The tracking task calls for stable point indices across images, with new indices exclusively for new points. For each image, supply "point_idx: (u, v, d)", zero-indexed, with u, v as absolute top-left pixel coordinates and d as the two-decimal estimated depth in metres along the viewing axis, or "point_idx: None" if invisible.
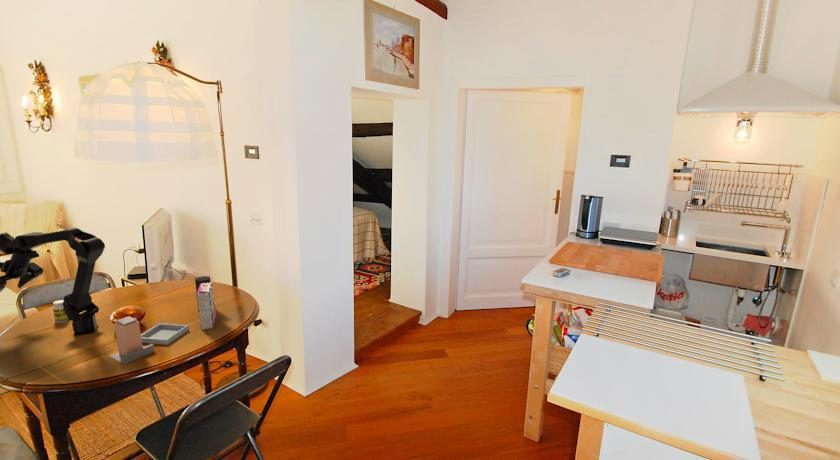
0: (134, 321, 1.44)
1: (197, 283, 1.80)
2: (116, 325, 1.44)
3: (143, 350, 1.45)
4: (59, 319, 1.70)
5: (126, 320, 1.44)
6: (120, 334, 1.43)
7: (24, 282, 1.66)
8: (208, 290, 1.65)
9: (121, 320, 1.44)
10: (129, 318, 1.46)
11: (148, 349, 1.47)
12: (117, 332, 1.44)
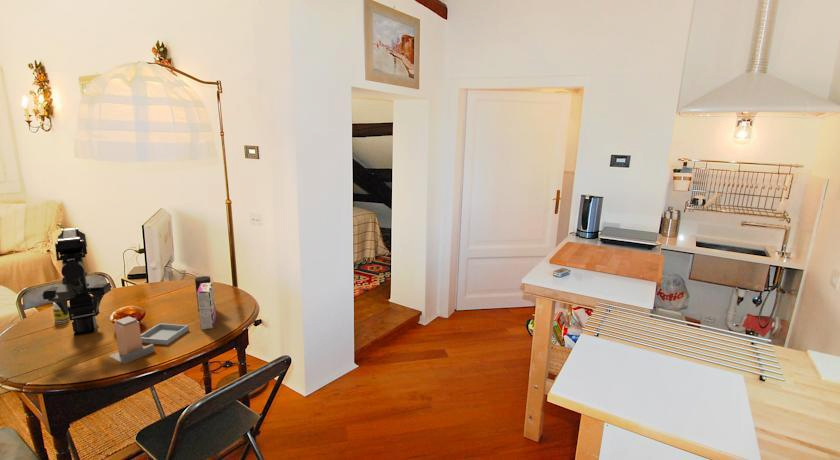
0: (134, 321, 1.44)
1: (197, 283, 1.80)
2: (116, 325, 1.44)
3: (143, 350, 1.45)
4: (59, 319, 1.70)
5: (126, 320, 1.44)
6: (120, 334, 1.43)
7: (66, 304, 1.49)
8: (208, 290, 1.65)
9: (121, 320, 1.44)
10: (129, 318, 1.46)
11: (148, 349, 1.47)
12: (117, 332, 1.44)
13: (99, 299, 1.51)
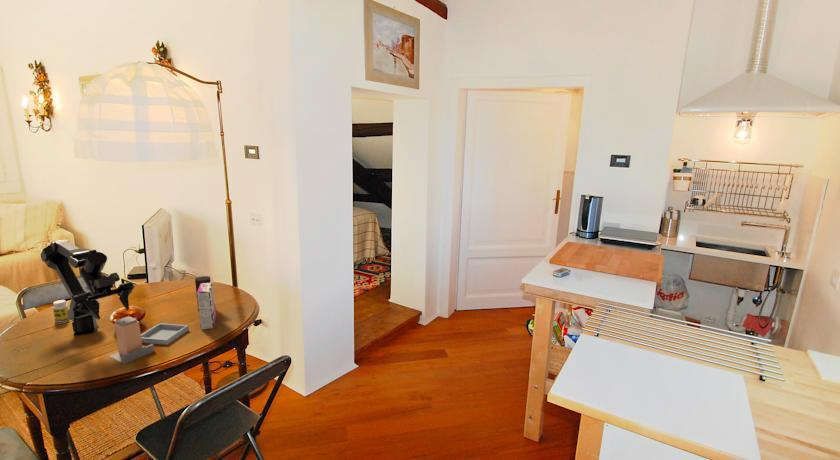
0: (134, 321, 1.44)
1: (197, 283, 1.80)
2: (116, 325, 1.44)
3: (143, 350, 1.45)
4: (59, 319, 1.70)
5: (126, 320, 1.44)
6: (120, 334, 1.43)
7: None
8: (208, 290, 1.65)
9: (121, 320, 1.44)
10: (129, 318, 1.46)
11: (148, 349, 1.47)
12: (117, 332, 1.44)
13: None
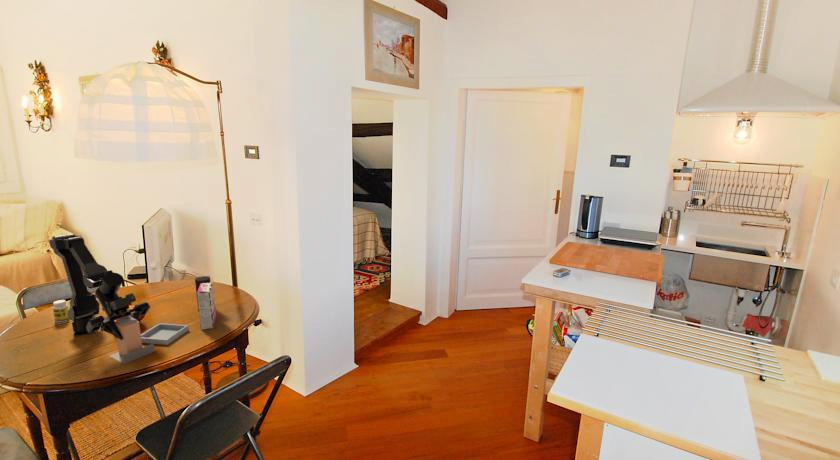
0: (134, 321, 1.44)
1: (197, 283, 1.80)
2: (116, 325, 1.44)
3: (143, 350, 1.45)
4: (59, 319, 1.70)
5: (126, 320, 1.44)
6: None
7: None
8: (208, 290, 1.65)
9: (121, 320, 1.44)
10: (129, 318, 1.46)
11: (148, 349, 1.47)
12: None
13: None
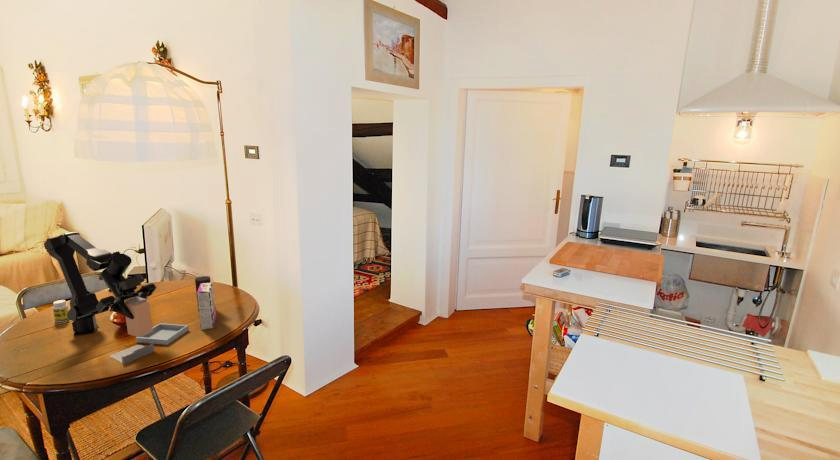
0: (144, 300, 1.47)
1: (197, 283, 1.80)
2: (126, 305, 1.46)
3: (143, 350, 1.45)
4: (59, 319, 1.70)
5: (136, 300, 1.47)
6: None
7: None
8: (208, 290, 1.65)
9: (131, 300, 1.46)
10: (138, 298, 1.48)
11: (148, 349, 1.47)
12: None
13: None
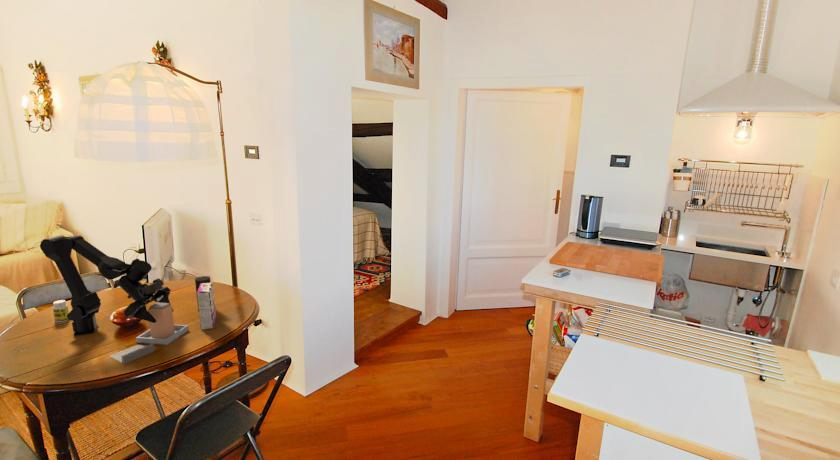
0: (168, 305, 1.58)
1: (197, 283, 1.80)
2: (151, 310, 1.55)
3: (143, 350, 1.45)
4: (59, 319, 1.70)
5: (160, 305, 1.57)
6: (155, 318, 1.56)
7: None
8: (208, 290, 1.65)
9: (155, 305, 1.56)
10: (160, 303, 1.59)
11: (148, 349, 1.47)
12: None
13: None
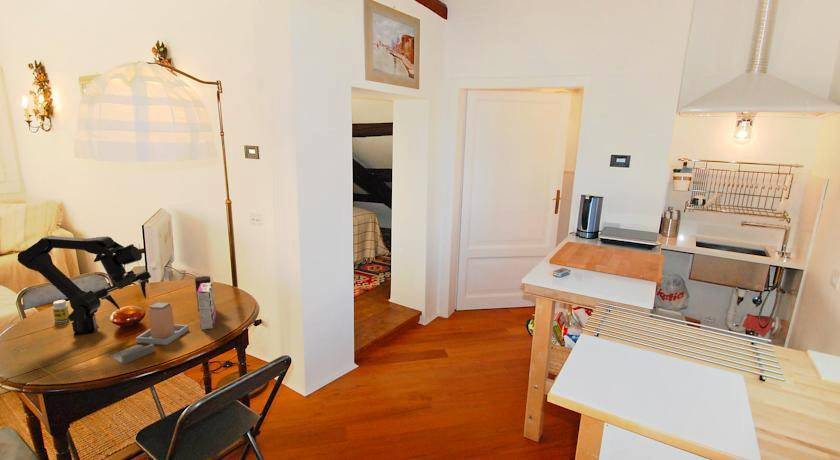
0: (168, 305, 1.58)
1: (197, 283, 1.80)
2: (151, 310, 1.55)
3: (143, 350, 1.45)
4: (59, 319, 1.70)
5: (160, 305, 1.57)
6: (155, 318, 1.56)
7: None
8: (208, 290, 1.65)
9: (155, 305, 1.56)
10: (160, 303, 1.59)
11: (148, 349, 1.47)
12: (151, 317, 1.56)
13: None
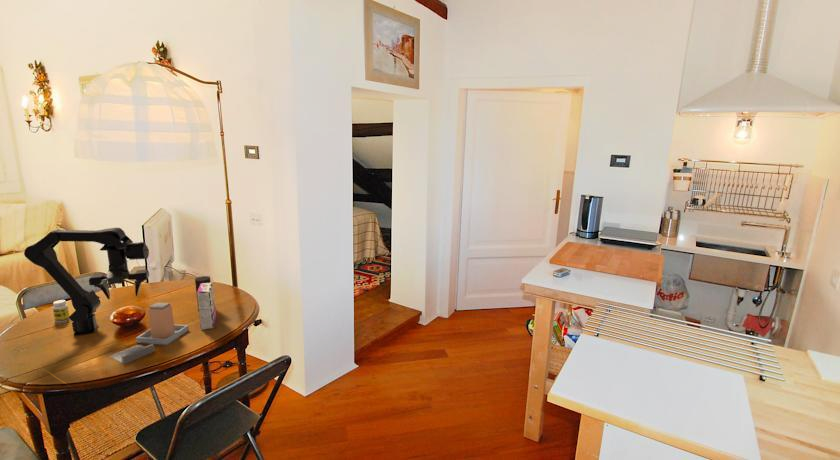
0: (168, 305, 1.58)
1: (197, 283, 1.80)
2: (151, 310, 1.55)
3: (143, 350, 1.45)
4: (59, 319, 1.70)
5: (160, 305, 1.57)
6: (155, 318, 1.56)
7: (108, 289, 1.63)
8: (208, 290, 1.65)
9: (155, 305, 1.56)
10: (160, 303, 1.59)
11: (148, 349, 1.47)
12: (151, 317, 1.56)
13: (139, 284, 1.67)
